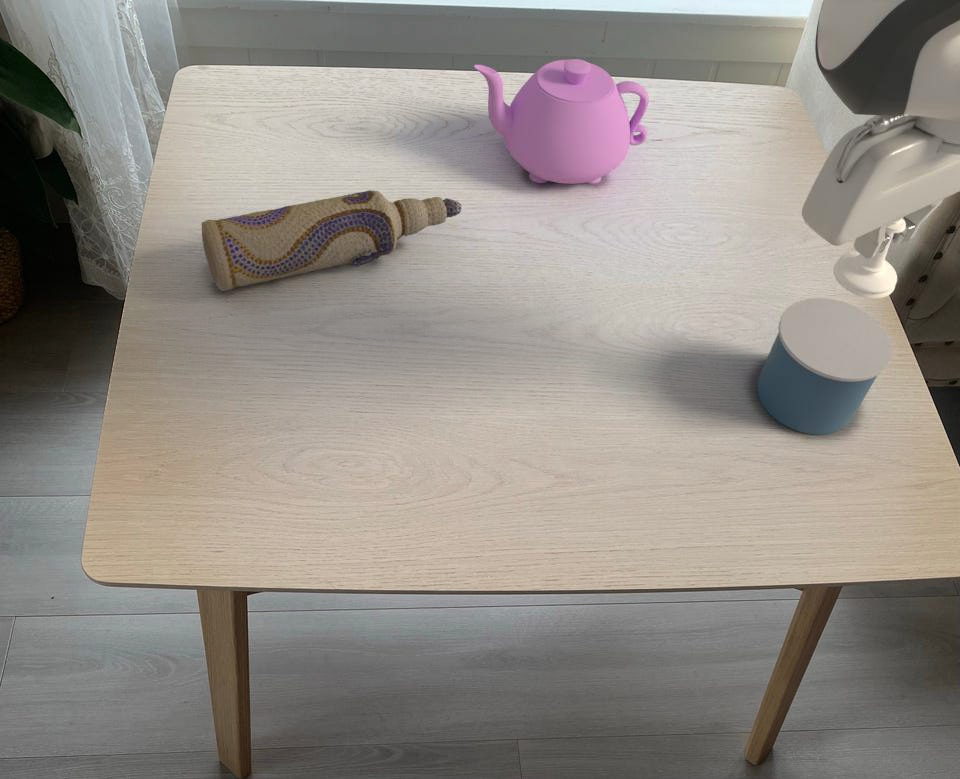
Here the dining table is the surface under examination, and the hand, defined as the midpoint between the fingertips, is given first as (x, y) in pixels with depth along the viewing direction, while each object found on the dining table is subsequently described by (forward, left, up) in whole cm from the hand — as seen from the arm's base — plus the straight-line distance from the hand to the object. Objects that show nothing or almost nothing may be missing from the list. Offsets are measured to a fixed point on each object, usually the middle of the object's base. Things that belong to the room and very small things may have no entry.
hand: (882, 244), depth 74 cm
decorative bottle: (+17, +44, -19) cm, 51 cm away
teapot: (+35, +20, -19) cm, 44 cm away
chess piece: (0, 0, -4) cm, 4 cm away
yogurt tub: (0, 0, -18) cm, 18 cm away
